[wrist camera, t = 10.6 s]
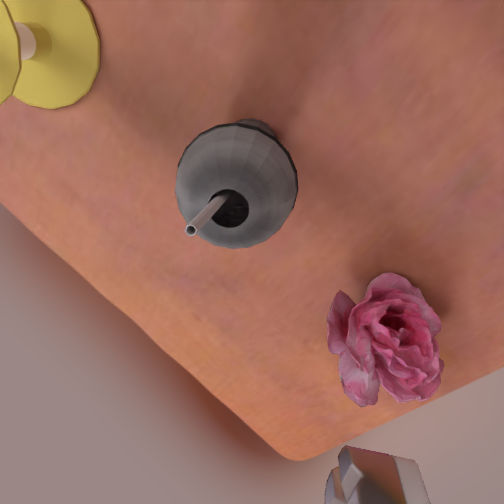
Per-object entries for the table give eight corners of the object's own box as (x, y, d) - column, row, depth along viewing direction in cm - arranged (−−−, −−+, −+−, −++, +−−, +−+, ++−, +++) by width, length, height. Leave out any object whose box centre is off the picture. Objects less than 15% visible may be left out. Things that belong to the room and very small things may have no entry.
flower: (374, 243, 41) (463, 280, 32) (396, 313, 46) (478, 362, 37) (283, 310, 38) (353, 370, 30) (317, 377, 43) (386, 445, 35)
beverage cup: (257, 204, 37) (232, 348, 19) (191, 152, 35) (95, 257, 17) (312, 139, 34) (343, 237, 16) (242, 80, 33) (191, 116, 15)
